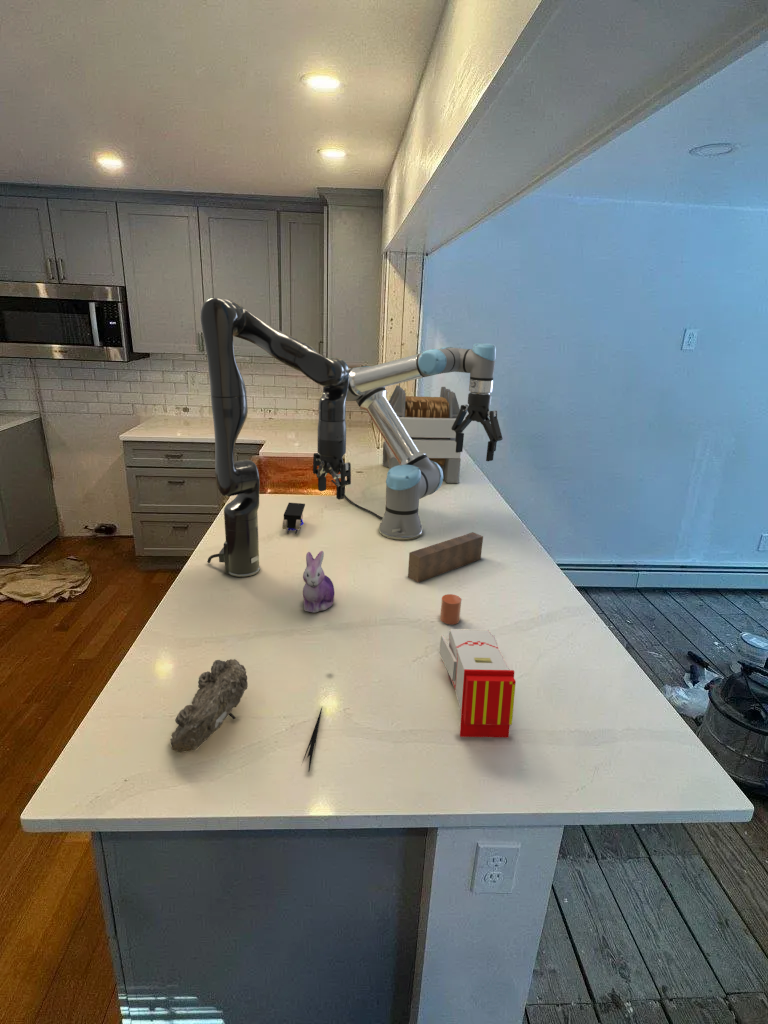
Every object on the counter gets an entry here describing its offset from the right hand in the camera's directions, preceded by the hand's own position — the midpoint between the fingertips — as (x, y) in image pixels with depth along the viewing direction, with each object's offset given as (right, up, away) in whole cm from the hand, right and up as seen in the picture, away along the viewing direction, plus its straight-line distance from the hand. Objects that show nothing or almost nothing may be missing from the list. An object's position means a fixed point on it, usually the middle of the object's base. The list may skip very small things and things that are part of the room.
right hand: (473, 456), depth 192 cm
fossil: (-63, -58, -84) cm, 120 cm away
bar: (-11, -36, -17) cm, 42 cm away
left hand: (-45, -14, -37) cm, 60 cm away
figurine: (-48, -44, -42) cm, 77 cm away
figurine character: (-62, -25, +8) cm, 67 cm away
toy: (-12, -57, -74) cm, 94 cm away
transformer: (-14, 0, +82) cm, 84 cm away
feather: (-43, -59, -84) cm, 111 cm away
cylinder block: (-14, -47, -46) cm, 67 cm away
